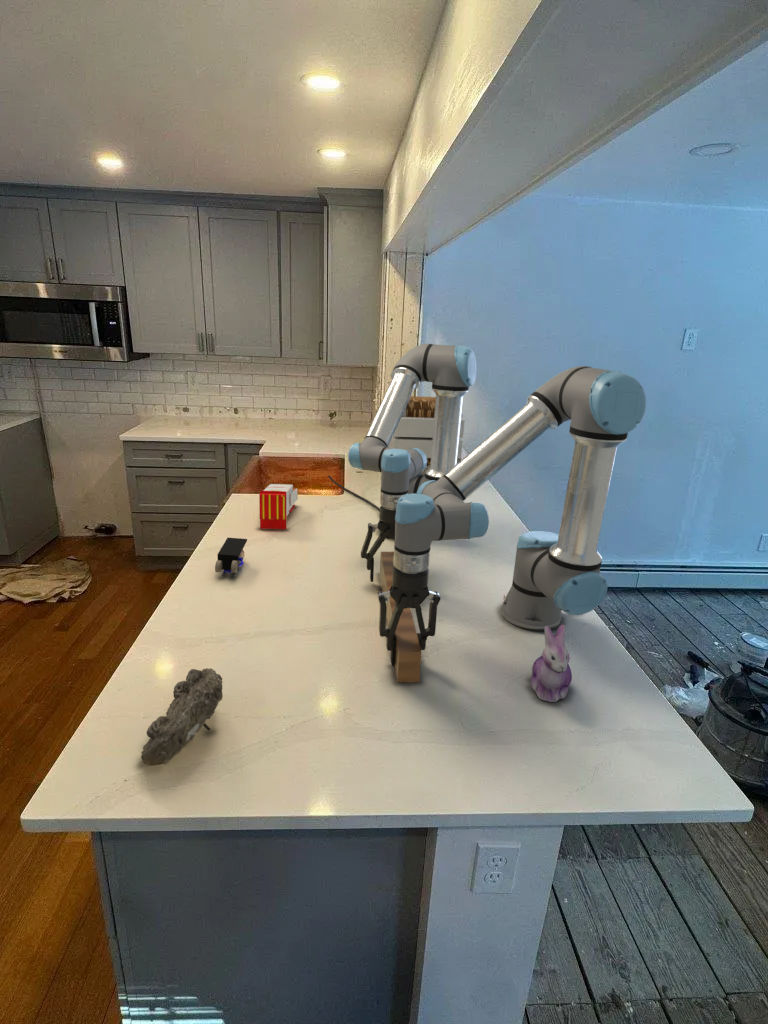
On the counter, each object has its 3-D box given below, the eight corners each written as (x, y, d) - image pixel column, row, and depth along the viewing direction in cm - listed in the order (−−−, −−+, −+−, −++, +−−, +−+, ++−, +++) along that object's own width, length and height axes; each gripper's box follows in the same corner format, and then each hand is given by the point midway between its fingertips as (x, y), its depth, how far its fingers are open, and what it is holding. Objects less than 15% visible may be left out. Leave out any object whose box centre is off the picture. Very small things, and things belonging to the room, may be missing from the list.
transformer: (382, 463, 289) (386, 382, 275) (445, 464, 293) (451, 384, 279) (390, 482, 257) (394, 392, 243) (460, 483, 261) (468, 394, 247)
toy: (299, 479, 223) (289, 492, 194) (299, 512, 226) (289, 530, 197) (268, 478, 223) (253, 491, 193) (268, 512, 225) (254, 529, 196)
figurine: (550, 710, 114) (561, 646, 109) (517, 681, 122) (526, 620, 117) (585, 697, 118) (597, 635, 113) (550, 670, 127) (560, 611, 121)
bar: (379, 574, 169) (380, 551, 166) (395, 574, 169) (396, 551, 167) (397, 682, 121) (399, 652, 118) (419, 682, 121) (421, 652, 118)
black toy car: (238, 584, 162) (249, 557, 175) (236, 562, 158) (247, 536, 172) (215, 584, 161) (227, 556, 175) (212, 561, 158) (225, 535, 171)
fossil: (171, 669, 114) (224, 637, 109) (205, 700, 117) (257, 670, 112) (115, 759, 95) (175, 724, 90) (157, 793, 97) (218, 762, 92)
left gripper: (353, 510, 150) (351, 585, 158) (436, 511, 152) (430, 585, 160) (352, 501, 157) (350, 573, 165) (431, 502, 159) (426, 574, 167)
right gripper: (369, 575, 115) (366, 672, 122) (456, 575, 116) (447, 671, 124) (367, 559, 122) (364, 652, 130) (449, 559, 123) (441, 651, 131)
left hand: (389, 579), depth 162 cm, fingers open, 10 cm apart
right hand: (404, 661), depth 127 cm, fingers closed on bar, 5 cm apart
